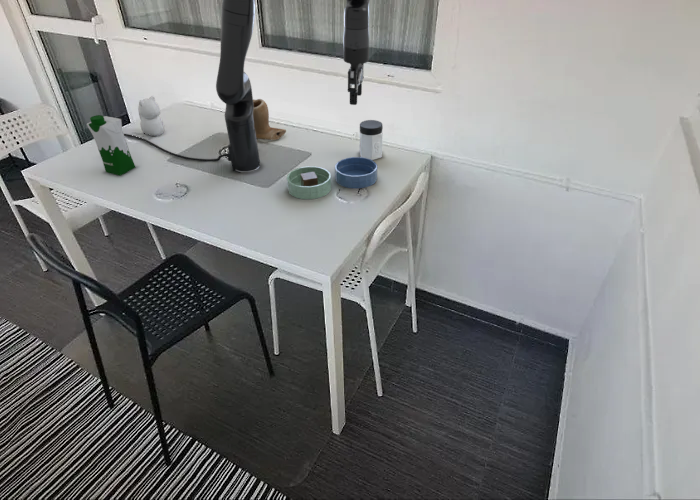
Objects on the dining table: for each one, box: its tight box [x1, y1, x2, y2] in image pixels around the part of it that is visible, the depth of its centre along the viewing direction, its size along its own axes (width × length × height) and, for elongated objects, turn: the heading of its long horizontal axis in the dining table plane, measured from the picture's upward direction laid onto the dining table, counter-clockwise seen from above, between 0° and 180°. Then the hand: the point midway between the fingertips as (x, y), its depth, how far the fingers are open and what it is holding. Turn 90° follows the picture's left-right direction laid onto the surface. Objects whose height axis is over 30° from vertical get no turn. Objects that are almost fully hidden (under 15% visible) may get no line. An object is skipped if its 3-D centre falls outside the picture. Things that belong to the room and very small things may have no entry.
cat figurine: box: [137, 95, 165, 137], centre depth 183 cm, size 9×12×15 cm
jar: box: [359, 119, 384, 161], centre depth 164 cm, size 9×8×12 cm
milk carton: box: [86, 114, 136, 177], centre depth 155 cm, size 9×9×20 cm
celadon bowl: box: [286, 165, 332, 200], centre depth 146 cm, size 14×14×5 cm
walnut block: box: [300, 172, 318, 186], centre depth 146 cm, size 5×5×5 cm
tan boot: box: [253, 98, 287, 141], centre depth 178 cm, size 15×12×15 cm
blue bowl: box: [334, 156, 378, 189], centre depth 151 cm, size 14×14×5 cm
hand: (355, 99), depth 141 cm, fingers open, 8 cm apart
